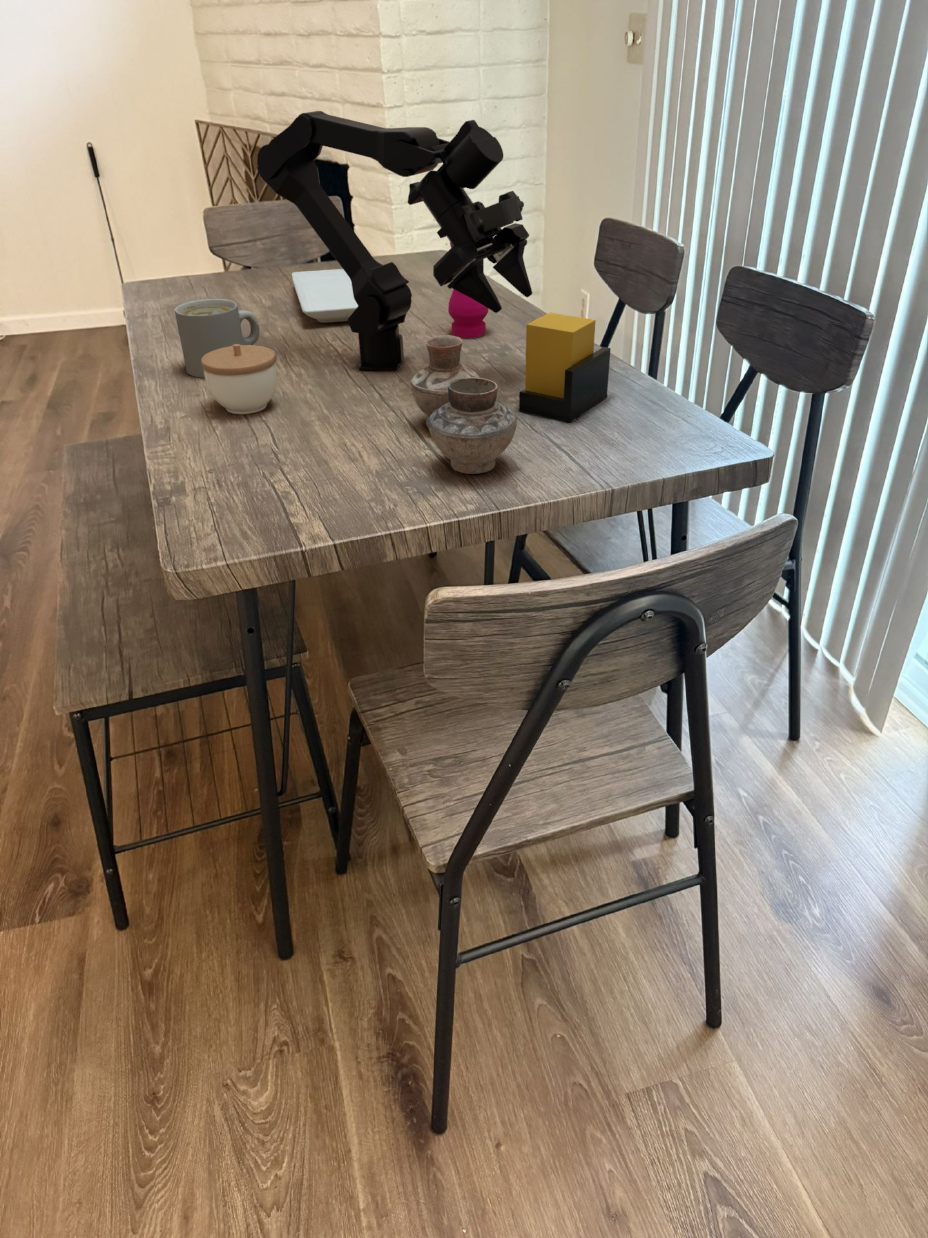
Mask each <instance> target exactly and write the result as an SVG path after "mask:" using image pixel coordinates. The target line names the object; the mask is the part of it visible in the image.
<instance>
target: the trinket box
mask: <svg viewBox="0 0 928 1238" xmlns="http://www.w3.org/2000/svg"><path fill="white" fill-rule="evenodd" d="M201 364H202V368H203V370H204V375H205V378H204V380H205V382H206V386H207V388H208V390H209V393H210V395H211V396H212V398H213V399H214V400H215V401H216V402H217V404H219V405H220V406H222V407H223V408H225V410H226V411H227V412H228V413H230V414H234V415H249V414H254V413H258V412H261V411H263V410H265V409H266V408H267V407H268V403H269V402H271V400H272V398H273V397H274V395H275V393H276V390H277V383H278V369H277V356H276V352H275V351H274V350H273V349H271V348H269V347H267V346H262V345H258V344H257V345H256V344H253V345H240V344H234V345H233V346H229V347H224V348H220V349H216V350H214V351H211V352H209V353H207V354H205V355H204V356H203V357H202V359H201Z"/></svg>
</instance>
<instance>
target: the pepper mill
mask: <svg viewBox="0 0 928 1238" xmlns="http://www.w3.org/2000/svg"><path fill="white" fill-rule="evenodd" d="M449 246H450V249H451V248H452V247H453V245H452V244H451V242H450V241H449ZM447 308H448V315H449V316H450V317H451V319H452V320H453V321H452V322H451V324H450V325H451V327H450V328H451V335H452V336H456V337H459V338H461V339H474V338H479V337H483V336H484V335H485V334H486V333H487V323H486V322H485V321H484V319H485V318H486V317H487V315H488V314H489V309H488V308H487V307H485V306H483V305H482V304H480V303H478V302H477V301H475V300H473V299H472V298H470V297H468V296H466V295H464V294H462V293H460V292H458V291H456V290H454V289H452V293H451V295H450V297H449V301H448V307H447Z"/></svg>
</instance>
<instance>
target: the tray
mask: <svg viewBox="0 0 928 1238" xmlns="http://www.w3.org/2000/svg"><path fill="white" fill-rule="evenodd" d="M291 279H292V283H293V286H294V289H295V293H296V295H297V298H298V299H297V300H298V301H299V305H300V308H301V310H302V311H301V312H302V313H304V314H305V315H306V316H308V317H310V318H312V319H314V320H317V322H318V323H321V324H326V323H327V324H328V323H340V322H342V323H343V322H348V318H349V317H350V316H351V314H352V313H353V312H354V311H355V309H356V308H357V307H358V305H357V303H356V301H355V299H354V296H353V290H352V283H351V280H350V278H349V276H348V275H347V274H346V272H345V271H344V270H343V268H338V269H321V270H308V271H307V270H305V271H294V272H292V273H291Z"/></svg>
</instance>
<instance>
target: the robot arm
mask: <svg viewBox="0 0 928 1238" xmlns="http://www.w3.org/2000/svg"><path fill="white" fill-rule="evenodd" d="M323 147H327V148H330V149H335V150H337V151H342V152H345V153H350V154H355V155H358V156H361V157H366V158H370V159H372V160H373V161H376V162H377V163H378V164H379V165H380V166H381V167H382V168H383V169H385V170H387V171H389V172H391V173H393V174H396V175H397V176H399V177H402V178H408V177H412V176H417V175H420V174H424V173H426V174H425V175H424V176H423V178H422V179H421V180H420V181H415V182H413V183H409V185H408V187H409V192H408V196H407V204H408V205H409V206H411V205H416V204H419V203H421V202H423V204H424V205H425V207H427V209H428V211H429V212H430V214H431V216H432V217H433V218H434V220H435V221H436V223H437V224H438V226H439V227H440V228H439V230H438V231H437V232H436V234H437V235H438V237H439V238H440V239H443V238H446V237H447V239H448V241H449V243H450V242H451V244H452V245H453V247H452V248H451V247H450V249H448V250H447V251H446V252H445V253H444V254H443V255H442V256H441V258H440V259H439V260H437V262H436V263H435V264H434V265H433V267H432V269H433V270H432V276H433V278H434V279H435V280H436V282H437V283H438V285H439V286H440V287H443V286H446V287H447V288H448V289H449V290H451V289H452V290H453V289H454V290H456V291H458V292H460V293H462V294H464V295H466V296H468V297H470V298H472V299H473V300H475V301H477V302H478V303H480V304H482V305H483V306H485V307H487V308H488V310H490V311H491V312H494V313H495V314H498V313H499V312H501V310H502V309H503V307H502V305H501V303H500V301H499V298H498V297H497V295H496V293H495V291H494V290H493V288H492V286H491V284H490V282H489V281H488V280H489V279H488V278H487V277H486V275H485V272H484V266H485V263H484V260H485V259H487V260H488V261H489V262H490V263H492V264H493V266H492V269H493V270H495V271H496V272H497V273H498V274H499V275H500V277H502V278H504V279H505V280H506V281H507V282H508V283H509V284H510V285H511V286H513V288H515V289H516V291H518V292H519V293H520V294H521V295H523V296H524V297H525V298H529V297H531V296H532V295H533V290H532V286H531V282H530V279H529V276H528V271H527V269H526V264H525V260H524V253H525V248H526V246H527V245H528V238H530V234H529V232H528V231H527V229H526V227H525V226H524V224H521V223H517V222H521V221H523V220H524V219H523V215H522V212H523V209H524V207H525V203H524V202H523V200H521V199H520V196H519V195H517V194H516V192H515V191H514V190H511V191H508V192H506V193H503V194H500V195H499V196H498V202H496V203H493V204H490V205H488V206H485V205H484V203H483V202H482V201H480V200H478V201H475V202H473V201H472V199H471V197H470V196H469V194H468V193H467V192H466V190H465V189H469V190H475V189H476V188H477V187H479V186H480V184H482V182H483V181H484V180H486V178H487V177H488V176H489V175H490V174H491V173H492V172H493V171H494V170H495V169H496V168H497V166H498V165H499V164H500V163H501V162H502V161H503V160H504V150H503V148H502V145H501V143H500V141H499V139H497V137H496V136H493V135H492V134H491V133H490V132H489V131H488V130H487V129H485V128H484V127H481V126H479V124H478V123H477V121H476V120H475V119H470V120H466V121H464V122H463V124H462V125H461V126H460V127H459V129H458V132H457V133H456V134H455V135H454V136H453V138H452V139H451V140H445V139H444V138H443V139H442V138H439V137H438V136H437V133H436V131H434V130H433V129H432V128H429V127H425V126H407V127H392V128H391V127H382V126H379V125H375V124H374V125H373V124H370V123H365V122H361V121H357V120H353V119H348V118H344V117H339V116H336V115H332V114H328V113H326V112H324V111H322V110H314V111H307V112H302V113H300V114H298V116H296V117H295V119H294V120H293V121H292V122H291V123H290V125H289V126H287V127H286V128H285V129H284V130H282V131H281V132H280V133H278V134H277V135H276V136H274V138H272V139H271V140H270V141H269V143H266V144H264V145H262V146H261V147H260V148H259V150H258V153H257V158H256V164H257V167H256V170H257V173H258V175H259V176H260V178H261V180H262V181H263V182H264V183H265V184H266V185H267V186H268V187H269V188H270V189H271V190H272V191H273V193H275V194H277V196H279V197H281V198H282V199H285V200H287V201H288V202H289V203H292V204H293V205H295V206H296V208H297V209H298V210H299V212H300V213H301V214H302V216H303V217H304V218H305V220H306V221H307V222H308V224H309V225H310V226H311V228H312V229H313V231H314V232H315V233H316V234H317V236H318V237H319V239H320V240H321V241H322V243H323V244H324V246H325V247H326V249H328V251H329V252H330V253H331V255H332V257H334V259H335V260H336V262H337V263H338V265H340V267H341V269H343V270H344V271H345V272H346V274H347V275H348V276H349V278H350V280H351V283H352V290H353V296H354V299H355V301H356V303H357V305H358V307H357V308H356V309H355V311H354V312H353V313H352V314H351V316H350V317H349V318H348V321H347V323H348V325H349V328H350V331H351V333H354V334H355V333H356V334H358V346H359V359H360V363H359V364H358V367H357V368H358V370H360V371H397V370H399V367H400V365H401V364H402V363H403V361H404V359H405V355H404V352H405V351H404V338H403V337H404V335H403V334H402V333H400V329H399V327H400V326H399V325H400V324H404V323H405V322H406V317H407V313H408V312H409V311H410V309H411V307H412V297H413V294H412V291H411V289H410V287H409V286H408V284H409V283H410V281H409V280H408V279H407V278H405V277H404V276H403V275H402V273H401V272H400V270H399V268H398V266H397V265H396V264H395V263H394V262H393V261H390V262H387V263H385V264H382V263H380V262H378V260H376V259H375V258H374V257H373V256H372V254H371V252H370V251H369V250H368V249H367V247H366V246H365V244H364V243H363V242H362V240H361V239H360V238H359V236H358V235H357V234H356V232H355V231H354V229H353V228H352V227H351V225H350V224H349V222H347V220H346V218H345V217H344V216H343V214H342V213H341V212H340V210H339V209H338V208H337V206H336V205H335V204H334V202H333V201H332V199H331V198H330V197H329V195H328V194H327V193H326V191H325V190H324V188H323V187H322V185H321V183H320V182H321V181H320V176H319V175H320V174H319V169H318V165H317V163H316V162H315V161H316V160H317V158H318V157H319V156H320V155H321V153H322V149H323ZM439 164H441V166H440V167H439V168H438V169H437V170H434V169H436V168H437V167H438V165H439Z"/></svg>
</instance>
